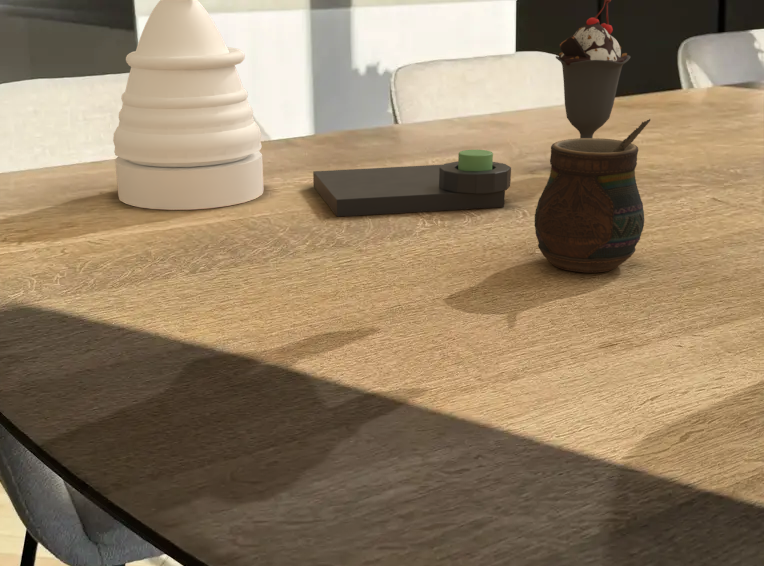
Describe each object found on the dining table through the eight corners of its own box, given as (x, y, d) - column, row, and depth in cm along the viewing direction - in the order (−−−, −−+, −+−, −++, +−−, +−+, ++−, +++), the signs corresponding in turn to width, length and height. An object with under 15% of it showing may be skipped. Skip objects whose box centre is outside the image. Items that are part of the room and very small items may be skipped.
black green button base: (472, 178, 103) (473, 145, 101) (517, 208, 91) (519, 171, 90) (313, 186, 101) (312, 153, 99) (338, 219, 89) (338, 181, 88)
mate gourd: (564, 245, 80) (574, 101, 76) (663, 262, 76) (680, 110, 72) (510, 267, 75) (518, 114, 71) (612, 286, 71) (628, 125, 67)
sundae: (615, 163, 108) (630, -4, 101) (623, 177, 102) (640, 0, 95) (546, 163, 109) (556, -3, 102) (550, 176, 102) (561, 1, 96)
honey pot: (293, 189, 100) (286, -29, 92) (190, 216, 91) (174, -23, 83) (191, 173, 107) (178, -30, 100) (87, 197, 98) (64, -24, 91)
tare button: (486, 167, 94) (487, 148, 93) (496, 173, 91) (497, 154, 90) (454, 169, 93) (454, 150, 93) (463, 175, 91) (464, 156, 90)
